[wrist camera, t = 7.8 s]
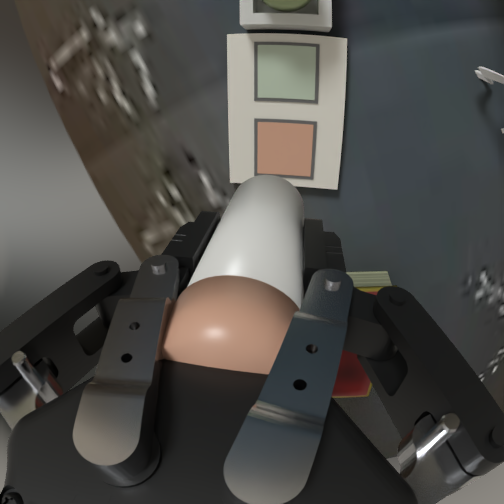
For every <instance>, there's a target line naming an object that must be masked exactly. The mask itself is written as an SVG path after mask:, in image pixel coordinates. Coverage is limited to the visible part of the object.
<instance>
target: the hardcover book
mask: <svg viewBox="0 0 504 504" xmlns="http://www.w3.org/2000/svg"><path fill="white" fill-rule="evenodd" d="M346 274H348V275H349V276H350V277H351V278H352V280H353V283H354V285H353V286H354V287H356V288H357V289H359V290H361V291H364V292H367V293H370V294H374V295H377V293H378V291H379V290H380V289H381V288H383V287H388V286H392V285H391V282H390V279H389V275H388V272H387V271H371V272H346ZM395 287H397V286H395ZM371 387H372V383H371V381H370V380H369V378H368V376H367V374H366V373H365V371H364V369H363V367H362V366H361V364H360V362H359V360H358V358H357V354H354V353H351V352H348V351H345V350H342V354H341V359H340V363H339V368H338V372H337V376H336V380H335V384H334V388H333V392H332V398H345V397H366V396H369V393H370V390H371Z"/></svg>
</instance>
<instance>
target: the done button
mask: <svg viewBox="0 0 504 504" xmlns="http://www.w3.org/2000/svg"><path fill="white" fill-rule="evenodd" d="M262 1H263V2H264V3H265V4H266V5H267V6H269V7H270V8H272V9H275V10H278V11H283V12H291V11H296V10H299V9H301V8H303V7H305V6H306V5H307V4H308V3H309V2H310V1H311V0H262Z"/></svg>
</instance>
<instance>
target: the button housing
mask: <svg viewBox="0 0 504 504" xmlns="http://www.w3.org/2000/svg"><path fill="white" fill-rule="evenodd" d="M240 25H241V26H242V27H244V28H245V29H246V30H258V29H274V30H303V31H317V32H329V31H330V29H331V28H332V0H311V1H310V2H309V3H308V4H307V5H306V6H305V7H303V8H301V9H299V10H296V11H291V12H283V11H278V10H275V9H272V8H270V7H269V6H267V5H266V4H265V3H264V2H263V1H262V0H240Z"/></svg>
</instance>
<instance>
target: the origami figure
mask: <svg viewBox="0 0 504 504" xmlns="http://www.w3.org/2000/svg"><path fill="white" fill-rule="evenodd" d="M478 68H479V70H480V71H478V70H476V71H475V72H476V74H477V76H478V78H480V79H482V80H484V81H486V82H488V83H490V84H494V83H493V81H492V80H494V81H497V82H500V83H502V84H504V76H503V75H501V74H499V73H497V72H494V71H492V70H489V69H487V68H484V67H478ZM501 130H502V133H504V128H503V129H501Z"/></svg>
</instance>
